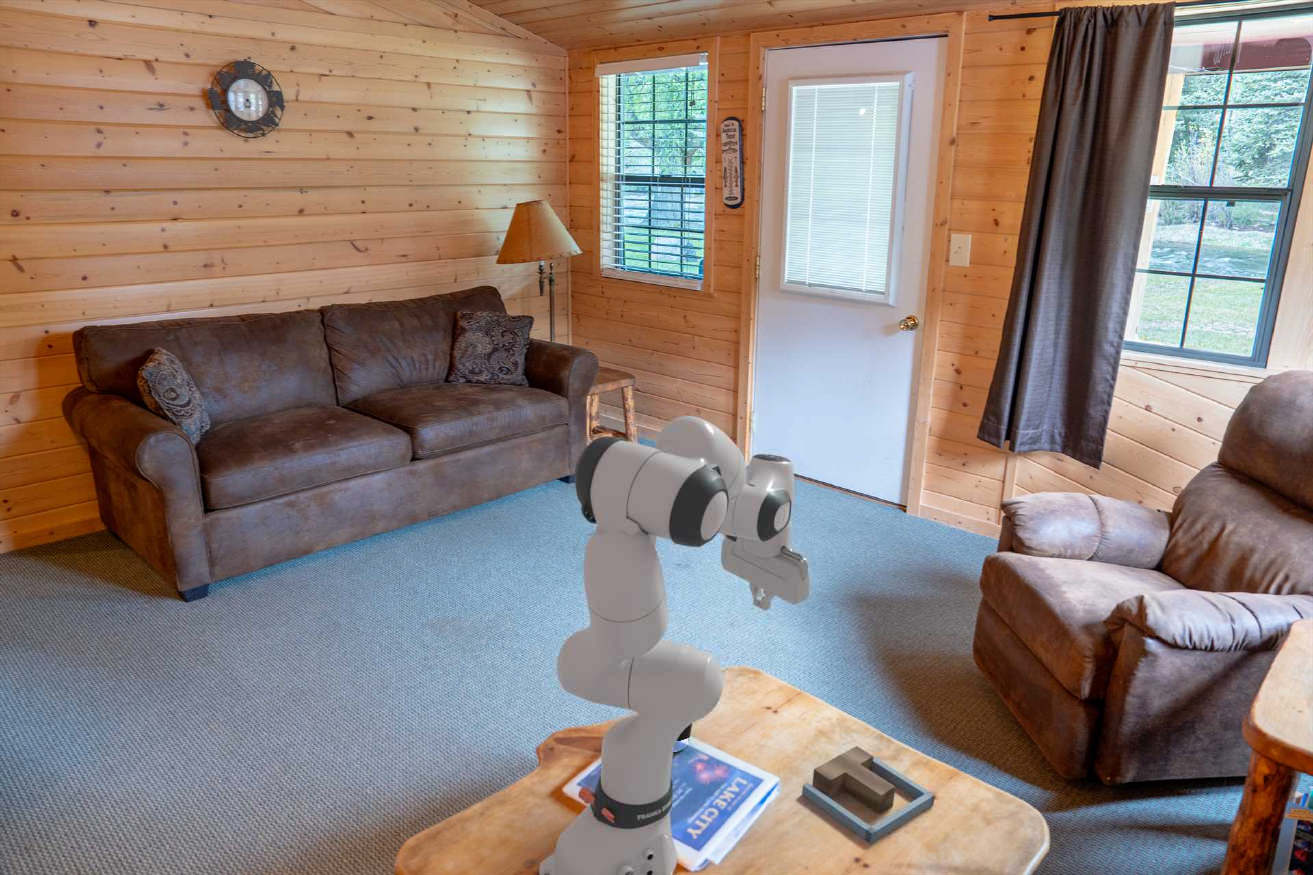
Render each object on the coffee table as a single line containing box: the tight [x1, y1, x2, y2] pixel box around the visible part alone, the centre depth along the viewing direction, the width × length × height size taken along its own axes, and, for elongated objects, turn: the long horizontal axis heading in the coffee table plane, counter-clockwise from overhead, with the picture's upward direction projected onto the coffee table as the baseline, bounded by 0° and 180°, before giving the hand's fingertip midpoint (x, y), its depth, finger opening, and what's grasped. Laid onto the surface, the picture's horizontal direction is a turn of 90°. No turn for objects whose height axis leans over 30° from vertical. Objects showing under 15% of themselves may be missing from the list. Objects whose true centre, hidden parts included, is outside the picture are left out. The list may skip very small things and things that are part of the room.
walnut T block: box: [812, 745, 896, 815], centre depth 167 cm, size 12×12×4 cm
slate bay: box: [801, 755, 936, 845], centre depth 166 cm, size 17×16×2 cm
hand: (761, 607), depth 174 cm, fingers closed
